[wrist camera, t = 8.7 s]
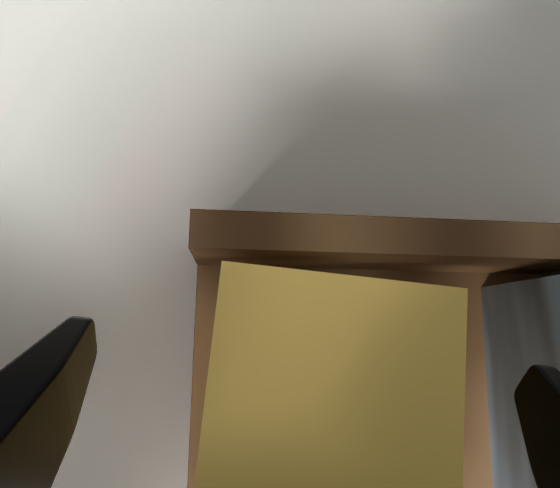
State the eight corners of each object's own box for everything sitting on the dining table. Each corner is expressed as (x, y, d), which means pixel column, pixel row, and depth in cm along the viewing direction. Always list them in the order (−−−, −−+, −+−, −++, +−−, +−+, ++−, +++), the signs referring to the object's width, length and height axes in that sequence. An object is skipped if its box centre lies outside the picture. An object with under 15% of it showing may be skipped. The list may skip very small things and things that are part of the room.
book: (208, 453, 17) (171, 664, 6) (226, 301, 18) (221, 260, 7) (317, 462, 17) (457, 675, 7) (329, 311, 19) (467, 288, 8)
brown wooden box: (187, 529, 18) (118, 855, 7) (200, 239, 20) (163, 127, 9) (610, 518, 19) (1104, 766, 8) (583, 252, 21) (956, 172, 10)
